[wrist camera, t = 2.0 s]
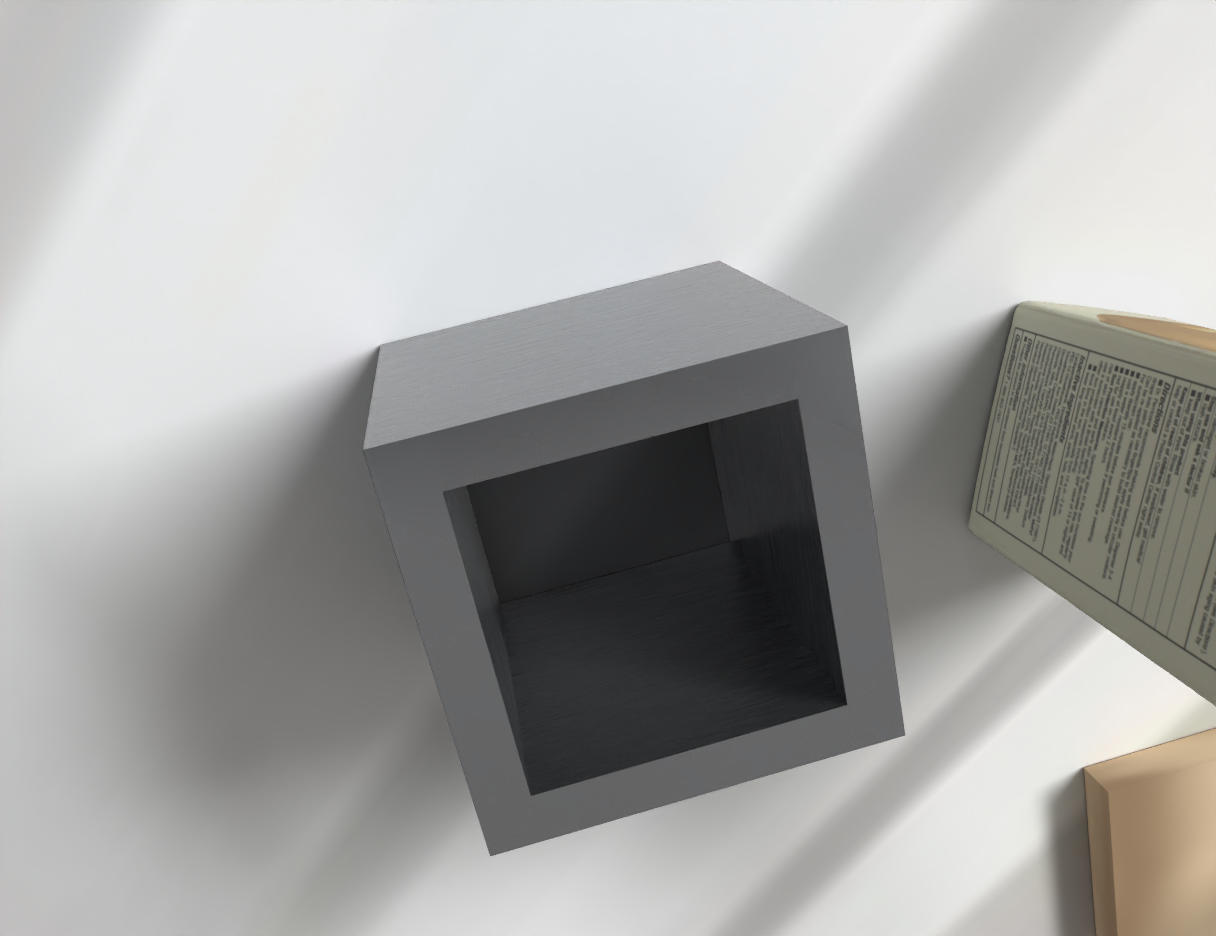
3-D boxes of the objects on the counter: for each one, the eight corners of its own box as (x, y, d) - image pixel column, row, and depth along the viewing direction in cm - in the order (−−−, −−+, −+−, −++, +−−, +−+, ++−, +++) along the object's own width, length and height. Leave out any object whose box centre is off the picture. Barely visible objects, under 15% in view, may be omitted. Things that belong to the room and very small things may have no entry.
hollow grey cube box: (470, 649, 27) (490, 856, 20) (380, 345, 24) (362, 450, 17) (774, 566, 28) (904, 735, 20) (719, 260, 25) (847, 325, 17)
